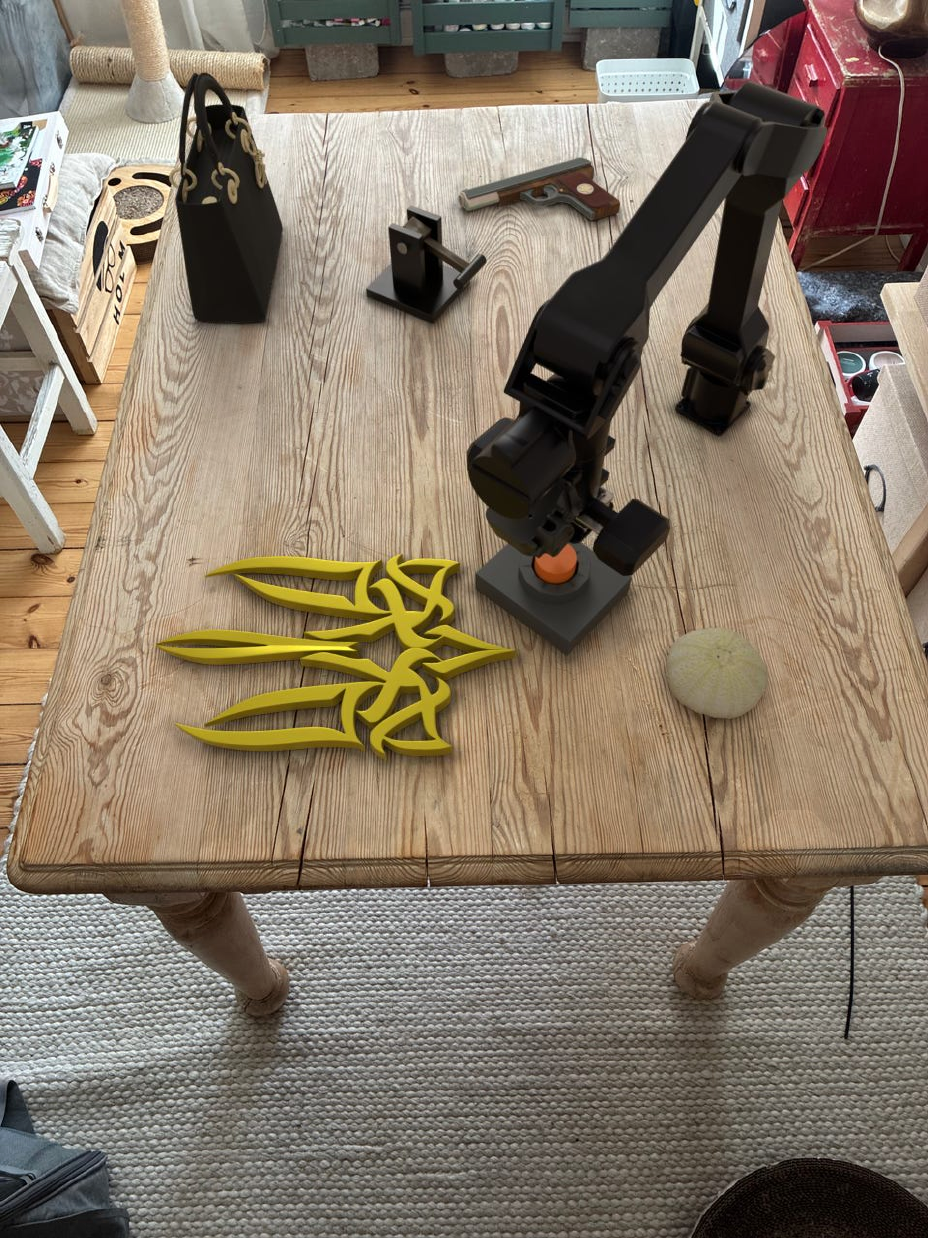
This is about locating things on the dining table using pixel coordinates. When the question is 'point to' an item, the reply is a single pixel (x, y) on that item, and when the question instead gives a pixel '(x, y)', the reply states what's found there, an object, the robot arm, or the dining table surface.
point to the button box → (553, 594)
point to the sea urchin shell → (716, 672)
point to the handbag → (225, 211)
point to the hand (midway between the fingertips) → (557, 549)
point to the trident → (344, 655)
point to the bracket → (416, 272)
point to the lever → (448, 255)
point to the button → (557, 566)
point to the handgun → (547, 190)
